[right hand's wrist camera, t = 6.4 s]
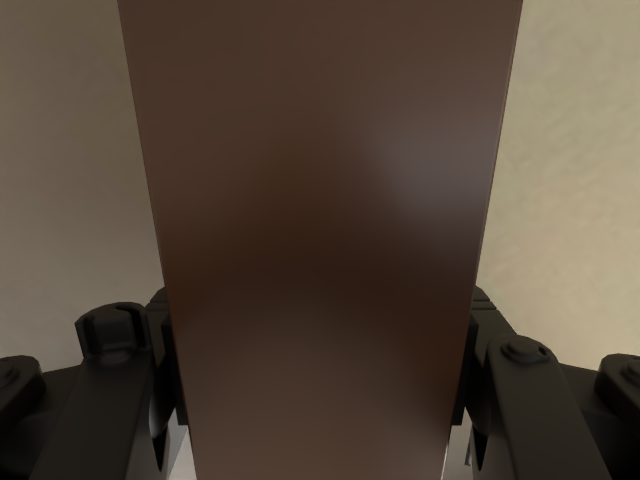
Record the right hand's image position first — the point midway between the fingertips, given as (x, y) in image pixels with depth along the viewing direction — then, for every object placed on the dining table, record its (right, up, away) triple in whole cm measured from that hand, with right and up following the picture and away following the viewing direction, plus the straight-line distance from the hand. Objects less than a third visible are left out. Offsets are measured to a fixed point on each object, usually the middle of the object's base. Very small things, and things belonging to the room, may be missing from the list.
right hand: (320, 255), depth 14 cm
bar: (0, +8, -3) cm, 9 cm away
